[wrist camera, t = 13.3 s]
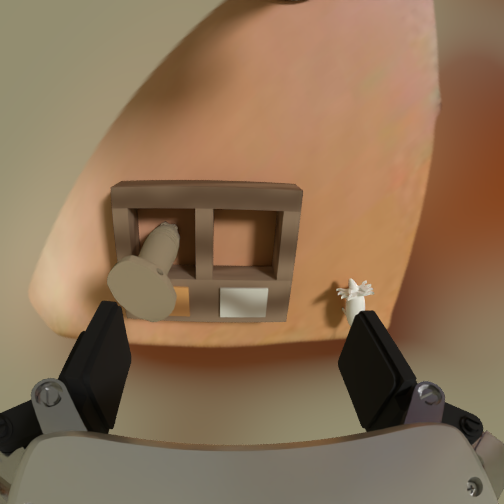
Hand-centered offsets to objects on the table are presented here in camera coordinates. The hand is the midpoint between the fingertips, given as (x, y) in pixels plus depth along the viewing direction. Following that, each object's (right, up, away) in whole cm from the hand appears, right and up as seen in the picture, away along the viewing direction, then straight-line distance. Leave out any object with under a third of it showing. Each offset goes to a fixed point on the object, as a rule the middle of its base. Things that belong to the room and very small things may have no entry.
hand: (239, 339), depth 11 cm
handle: (-10, +6, +27) cm, 29 cm away
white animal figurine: (+16, -5, +34) cm, 38 cm away
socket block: (-6, +4, +28) cm, 29 cm away
